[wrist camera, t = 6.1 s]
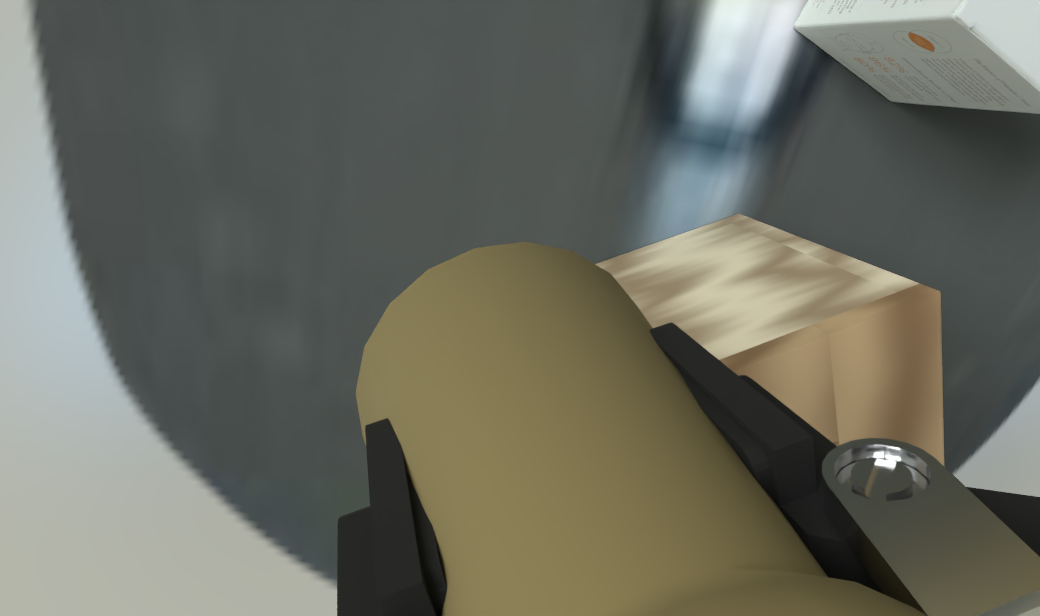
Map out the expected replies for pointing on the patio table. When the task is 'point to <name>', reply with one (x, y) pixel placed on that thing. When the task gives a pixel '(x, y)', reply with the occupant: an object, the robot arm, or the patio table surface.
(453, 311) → the cork
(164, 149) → the patio table surface
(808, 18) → the small box
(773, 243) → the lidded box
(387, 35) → the patio table surface
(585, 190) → the patio table surface
